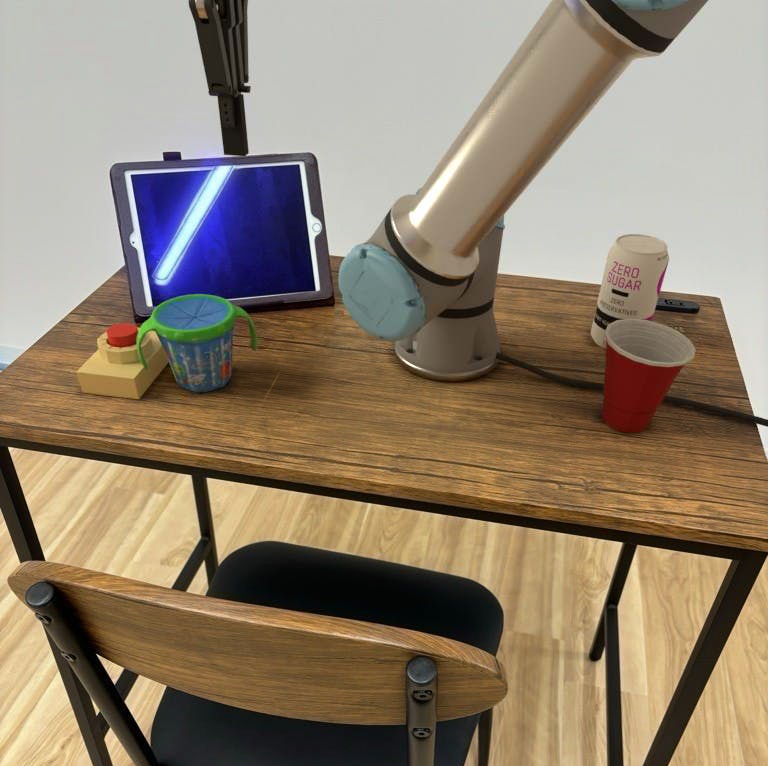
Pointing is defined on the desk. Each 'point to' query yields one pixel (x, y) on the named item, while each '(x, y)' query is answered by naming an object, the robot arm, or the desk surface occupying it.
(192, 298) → the snack cup
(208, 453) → the desk surface
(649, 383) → the plastic cup
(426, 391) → the desk surface
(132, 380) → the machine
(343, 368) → the desk surface
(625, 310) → the supplement can
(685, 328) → the desk surface
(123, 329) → the button
